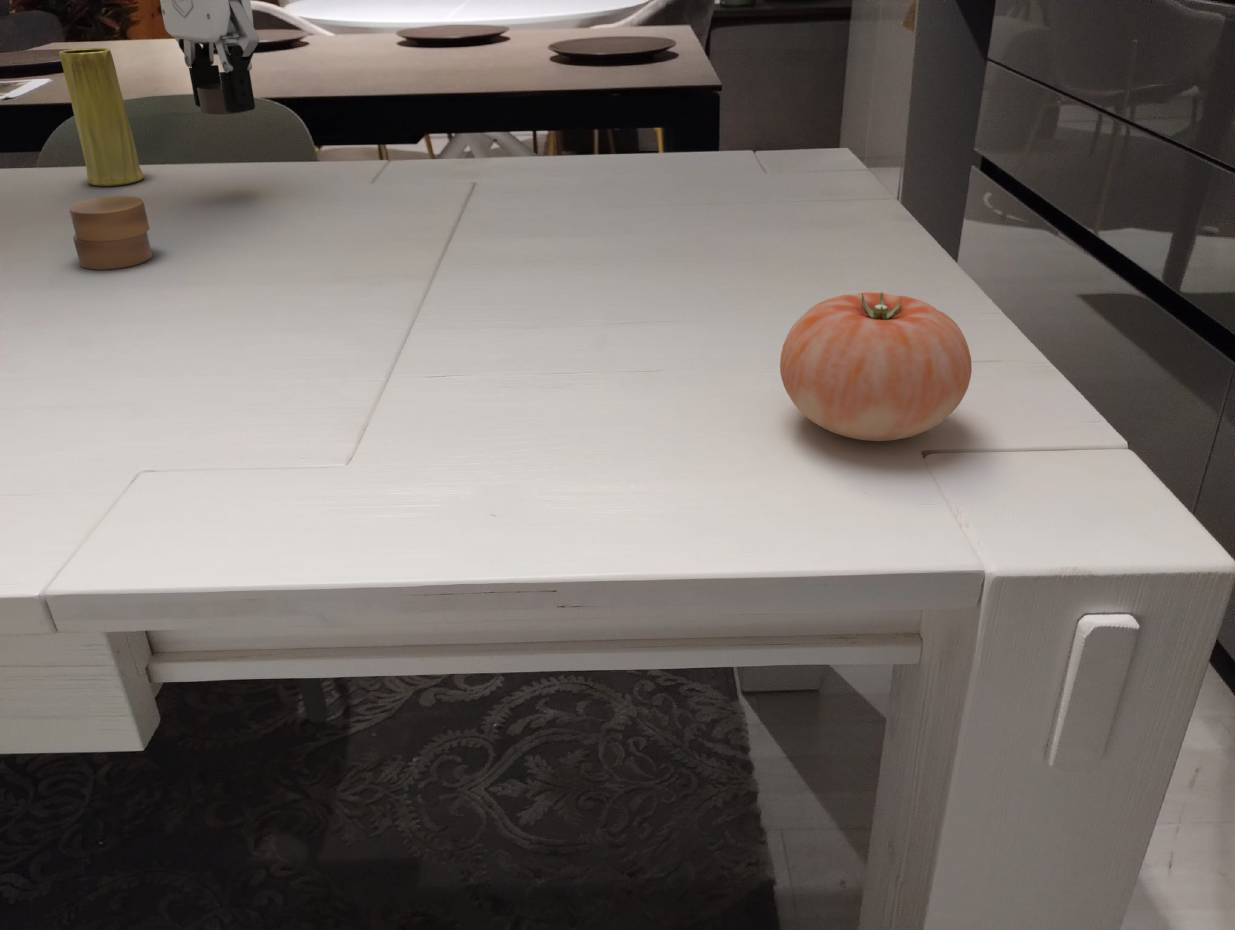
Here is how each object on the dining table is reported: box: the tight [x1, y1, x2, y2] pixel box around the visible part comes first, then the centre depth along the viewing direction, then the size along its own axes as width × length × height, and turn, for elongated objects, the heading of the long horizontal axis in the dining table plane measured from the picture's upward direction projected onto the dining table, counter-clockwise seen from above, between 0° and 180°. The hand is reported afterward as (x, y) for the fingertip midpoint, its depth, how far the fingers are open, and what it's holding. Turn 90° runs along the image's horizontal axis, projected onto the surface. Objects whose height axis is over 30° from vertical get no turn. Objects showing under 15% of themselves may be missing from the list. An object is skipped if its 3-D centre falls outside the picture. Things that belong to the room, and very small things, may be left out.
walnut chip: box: [197, 83, 250, 115], centre depth 109 cm, size 5×5×2 cm
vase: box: [58, 47, 145, 187], centre depth 116 cm, size 6×6×14 cm
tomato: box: [779, 291, 973, 442], centre depth 59 cm, size 11×11×8 cm
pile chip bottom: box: [72, 231, 153, 271], centre depth 91 cm, size 6×6×2 cm
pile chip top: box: [68, 195, 150, 242], centre depth 90 cm, size 6×6×2 cm
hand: (225, 106), depth 109 cm, fingers closed on walnut chip, 5 cm apart
